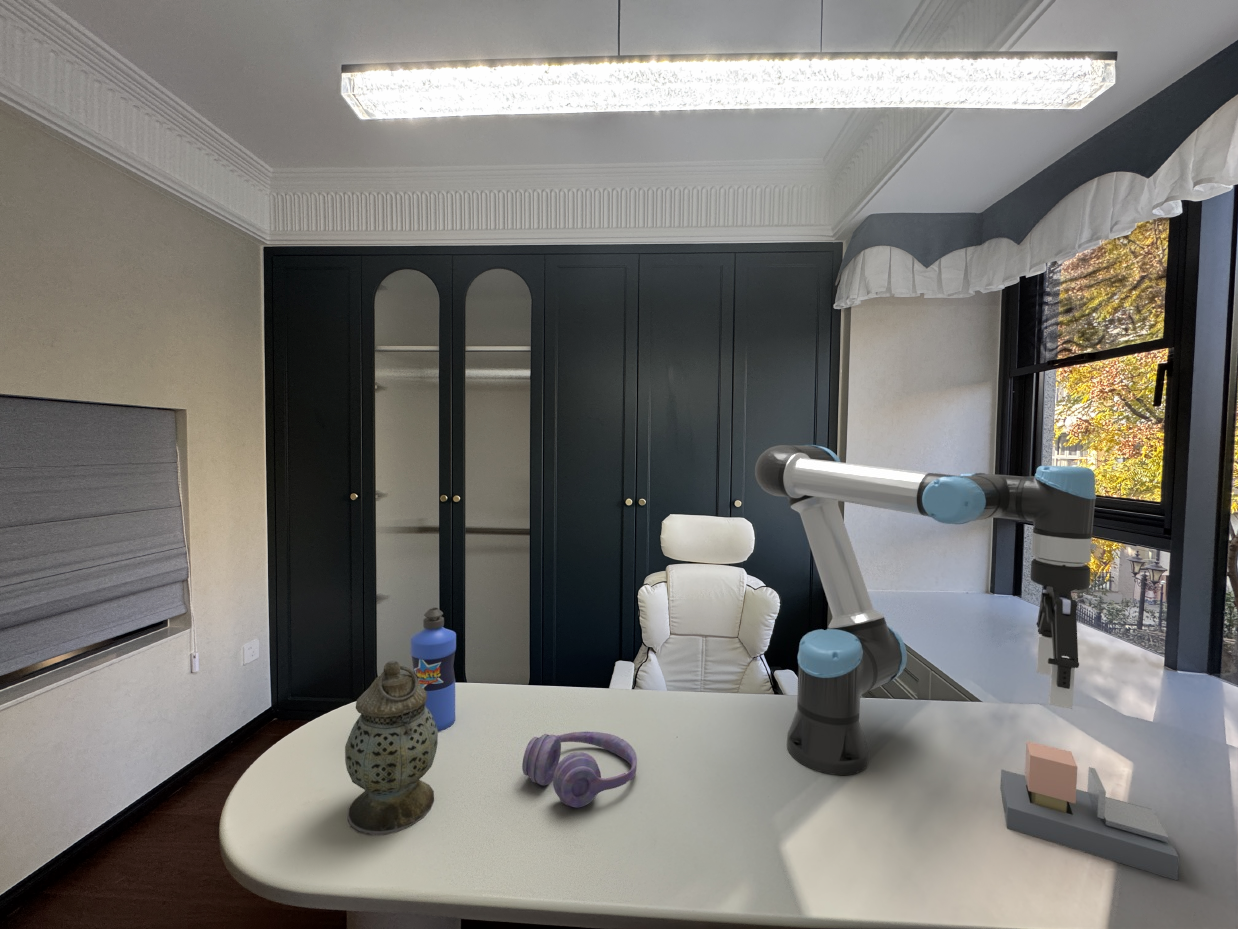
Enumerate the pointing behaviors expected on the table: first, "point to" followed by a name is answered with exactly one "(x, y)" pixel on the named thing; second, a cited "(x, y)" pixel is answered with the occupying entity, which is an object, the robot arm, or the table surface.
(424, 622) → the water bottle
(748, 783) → the table surface
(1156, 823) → the shutter
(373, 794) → the lantern
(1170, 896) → the table surface
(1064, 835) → the socket block
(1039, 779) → the plug
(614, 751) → the headphones
